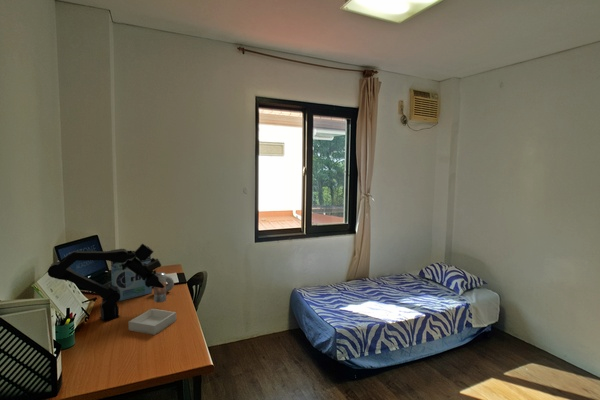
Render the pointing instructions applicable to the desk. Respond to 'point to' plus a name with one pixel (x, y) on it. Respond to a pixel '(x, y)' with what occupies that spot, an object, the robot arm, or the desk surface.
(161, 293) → the tin
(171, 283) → the donut
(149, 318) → the tray
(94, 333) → the desk surface
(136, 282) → the gum box
